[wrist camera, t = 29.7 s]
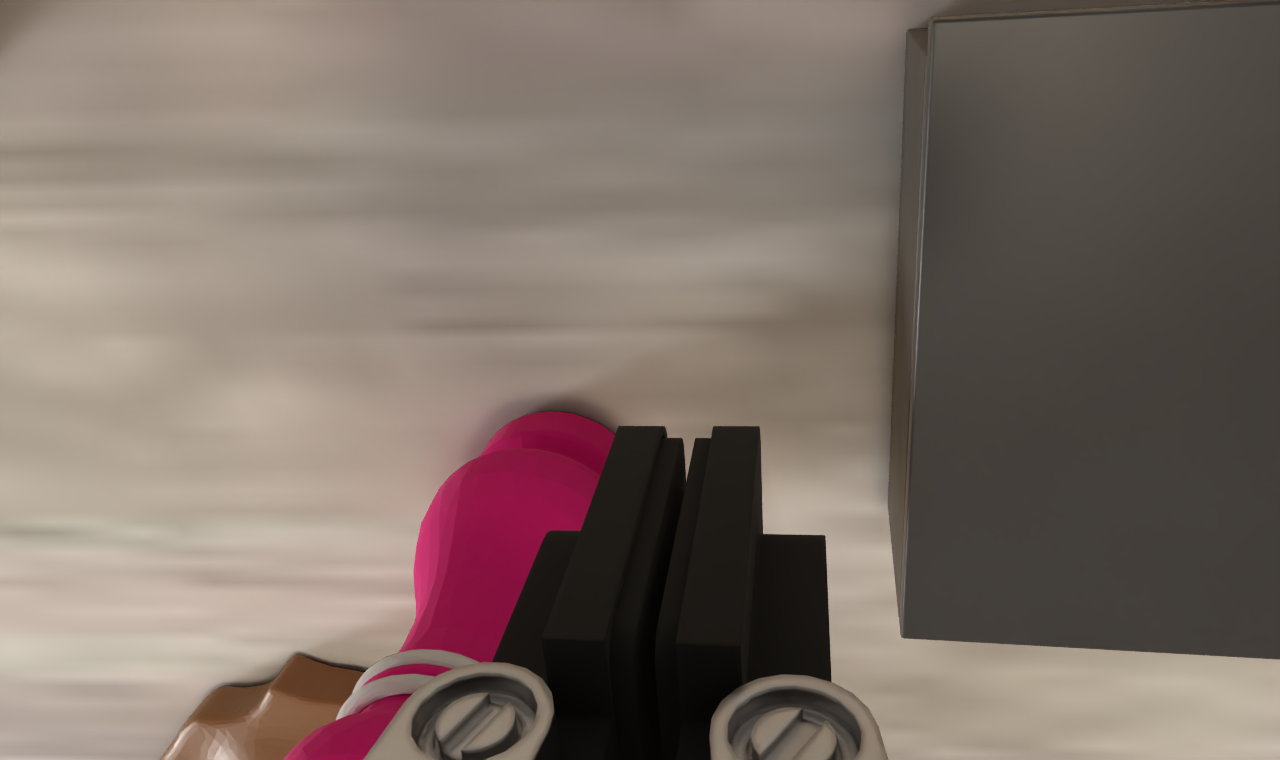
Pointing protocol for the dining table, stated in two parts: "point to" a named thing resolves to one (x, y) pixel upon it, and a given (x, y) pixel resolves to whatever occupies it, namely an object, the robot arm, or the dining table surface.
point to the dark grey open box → (906, 285)
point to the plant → (265, 714)
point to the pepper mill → (474, 565)
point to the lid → (1098, 332)
